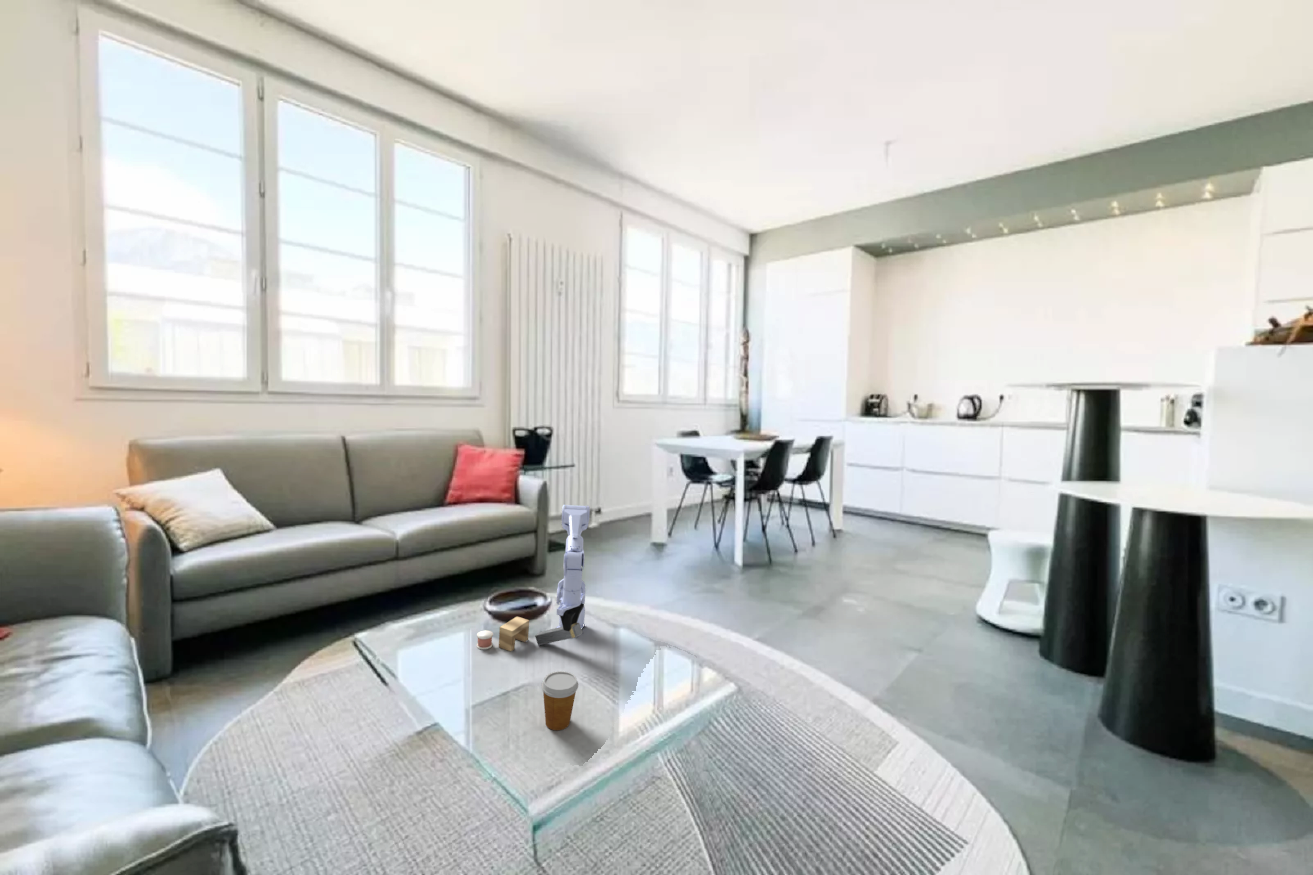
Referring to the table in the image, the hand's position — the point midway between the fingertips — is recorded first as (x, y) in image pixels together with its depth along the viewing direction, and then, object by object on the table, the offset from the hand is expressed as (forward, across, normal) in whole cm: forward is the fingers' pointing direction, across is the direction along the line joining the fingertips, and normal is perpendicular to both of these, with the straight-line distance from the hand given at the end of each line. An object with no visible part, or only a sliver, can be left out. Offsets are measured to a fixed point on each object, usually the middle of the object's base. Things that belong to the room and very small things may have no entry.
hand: (569, 627), depth 182 cm
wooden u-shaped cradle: (+8, +5, -18) cm, 20 cm away
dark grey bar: (+5, 0, -3) cm, 6 cm away
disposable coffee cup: (+8, +32, +16) cm, 37 cm away
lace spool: (+8, +10, -25) cm, 29 cm away
